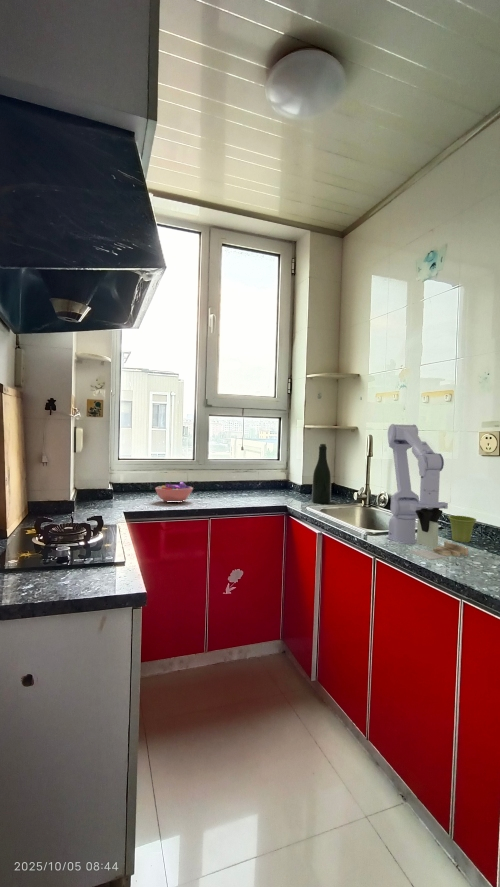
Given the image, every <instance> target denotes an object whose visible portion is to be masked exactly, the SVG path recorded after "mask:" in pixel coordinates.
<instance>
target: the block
mask: <svg viewBox="0 0 500 887" xmlns="http://www.w3.org/2000/svg"><path fill="white" fill-rule="evenodd" d="M416 526H417V534H416V540H417V543H416V544H419V545H423V546H426V547H429V548H431V549H433V548H438V545H439V522H437V523H436V522H432V521H430V522H429V530H428V532H424V531H422V528H421V524H420V520H419V518H418V519H417V525H416Z"/></svg>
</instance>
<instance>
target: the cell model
mask: <svg viewBox="0 0 500 887" xmlns="http://www.w3.org/2000/svg"><path fill="white" fill-rule="evenodd" d="M154 489H155V492H156V494H157V496H158V498H159V499H160V500H162V501H163V502H165V501H183V500H185V501H186V500H188V498H189V496H190V495H191V494H192V492H193V490H194V486H193V487H192V486H190V485H186V483H185V482H184V481H179V484H171V483H167V482H166V483H165V485H158V486H156V487H154ZM183 502H184V501H183Z"/></svg>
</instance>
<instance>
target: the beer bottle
mask: <svg viewBox="0 0 500 887" xmlns="http://www.w3.org/2000/svg"><path fill="white" fill-rule="evenodd" d="M327 452H328V448H327V444H326V443H320V444H319V446H318V458H317V463H316V465H315V467H314V470H313V474H312V487H311V489H312V491H311V501H312V502H313V503H315V504H320V505H321V504H323V505H326V504H330V503H331V500H332V475H331V474H332V473H331V469H330V467H329V464H328V459H327V455H328V454H327Z"/></svg>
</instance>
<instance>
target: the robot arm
mask: <svg viewBox="0 0 500 887" xmlns="http://www.w3.org/2000/svg"><path fill="white" fill-rule="evenodd" d="M387 429H388V430H387V442H388V447H389V448H391V449H392V453H393V454H392V455H393V461H394V462H393V463H394V470H395V480H396V487H397V491H396V492H395V493H394V494H393V495H392V496H391V497H390V512H391V514H392V516H391V517H390V518H389V520H388V534H387V535H388V536H386V539H387V540H391V541H394V542H397V543H400V544H402V545H409V544H411V545H412V544H418V543H417V539H416V526H417V525H416V524H417V522H416V519H417V520H418V519H419V520H420V524H421V528H422V531H424V532H428V530H429V522H430V521H432V522H436V523H438V521H439V519H440V517H441V516H442V514H443V509H444V510H445V509H446V510H447V509H448V508H449V507H448V506H449V503H448V502H445V501H440V474H441V472H442V471H443V469H444V466H445V460H444V457H443V455H442V453H437V452H435V451H434V450H433V449H432V447H430V445H429V444H428V443H427V441H423V440H421V438H420V436H419V428H418V426H417V425H416V424H395V423H391V424H390V425H389V426H388V428H387ZM409 449H411V452H412V454H413V456H414V457H415V458H416V460H417V467H418V474H419V476H420V486H419V488H420V489H419V490H420V491H419V495H417V493H415V492H414V491H413V490H412V484H411V476H410V468H409V459H408V454H407V452H408V450H409Z"/></svg>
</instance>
